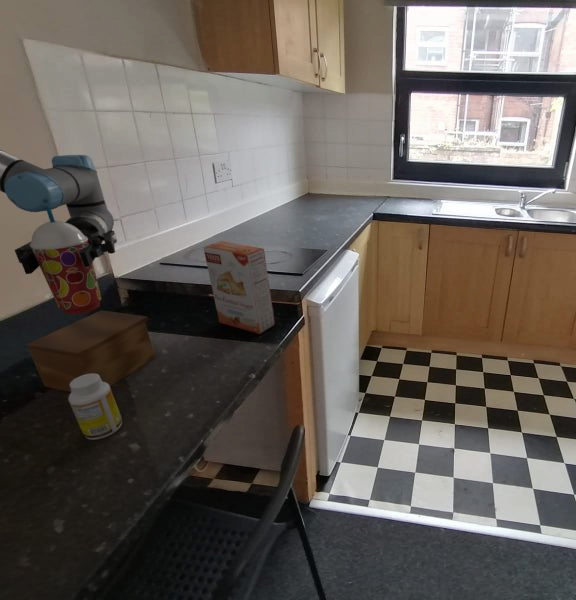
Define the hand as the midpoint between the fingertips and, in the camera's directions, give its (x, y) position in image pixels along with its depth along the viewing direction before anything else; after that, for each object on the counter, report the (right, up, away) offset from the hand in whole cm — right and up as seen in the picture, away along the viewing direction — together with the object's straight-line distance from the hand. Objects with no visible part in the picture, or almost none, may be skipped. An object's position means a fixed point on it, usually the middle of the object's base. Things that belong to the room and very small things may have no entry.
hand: (56, 263), depth 71 cm
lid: (-2, -13, +11) cm, 17 cm away
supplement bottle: (+10, -29, -2) cm, 31 cm away
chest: (-2, -22, +14) cm, 26 cm away
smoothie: (-2, -8, +9) cm, 12 cm away
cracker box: (+21, -13, +33) cm, 41 cm away
